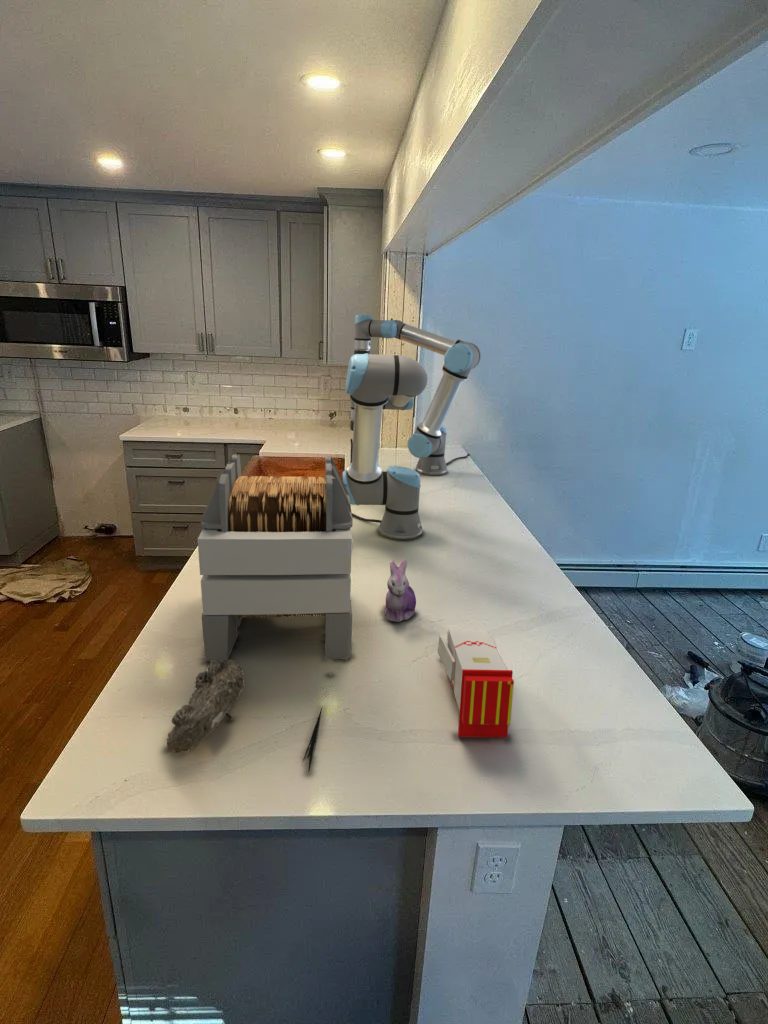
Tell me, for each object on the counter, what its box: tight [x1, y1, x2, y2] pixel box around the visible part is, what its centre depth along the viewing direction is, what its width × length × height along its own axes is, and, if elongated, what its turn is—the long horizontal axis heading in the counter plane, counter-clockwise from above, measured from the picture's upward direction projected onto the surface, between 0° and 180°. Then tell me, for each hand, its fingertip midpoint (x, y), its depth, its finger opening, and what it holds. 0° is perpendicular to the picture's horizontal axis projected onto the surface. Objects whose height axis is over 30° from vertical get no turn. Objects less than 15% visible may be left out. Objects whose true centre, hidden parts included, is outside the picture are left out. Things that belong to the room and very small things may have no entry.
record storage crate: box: [197, 454, 354, 663], centre depth 134 cm, size 34×33×41 cm
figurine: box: [384, 558, 417, 623], centre depth 145 cm, size 9×10×15 cm
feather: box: [301, 673, 332, 771], centre depth 108 cm, size 2×28×2 cm
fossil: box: [166, 658, 245, 754], centre depth 106 cm, size 22×10×15 cm
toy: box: [437, 628, 515, 738], centre depth 117 cm, size 12×13×30 cm
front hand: (358, 478), depth 226 cm, fingers closed on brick, 5 cm apart
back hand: (360, 396), depth 268 cm, fingers open, 13 cm apart
